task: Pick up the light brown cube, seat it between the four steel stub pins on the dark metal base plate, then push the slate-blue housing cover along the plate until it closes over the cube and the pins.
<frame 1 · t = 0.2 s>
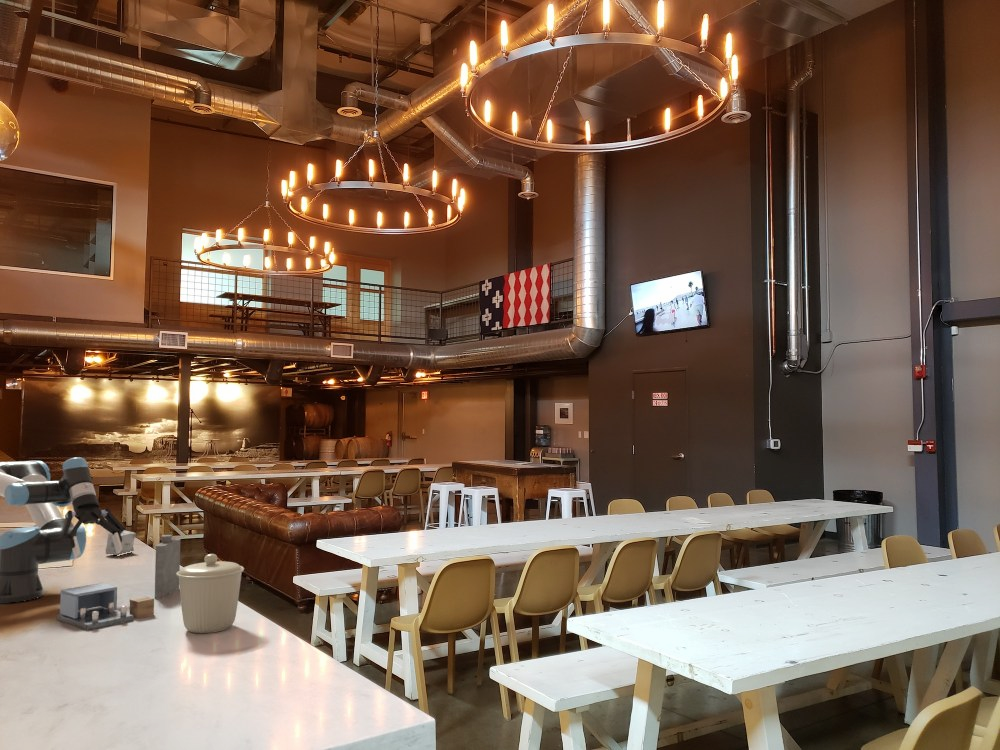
hand: (99, 553, 241), 16 cm above the bar counter, tool tilted 35°, fingers open, 13 cm apart
canister: (209, 629, 208), on the bar counter
housing cover: (88, 599, 221), point 5 cm above the bar counter, slide at 0.0 cm
light brown cube: (141, 615, 223), on the bar counter
hip flask: (165, 593, 253), on the bar counter
housing base: (95, 620, 218), on the bar counter
incense holder: (120, 555, 331), on the bar counter
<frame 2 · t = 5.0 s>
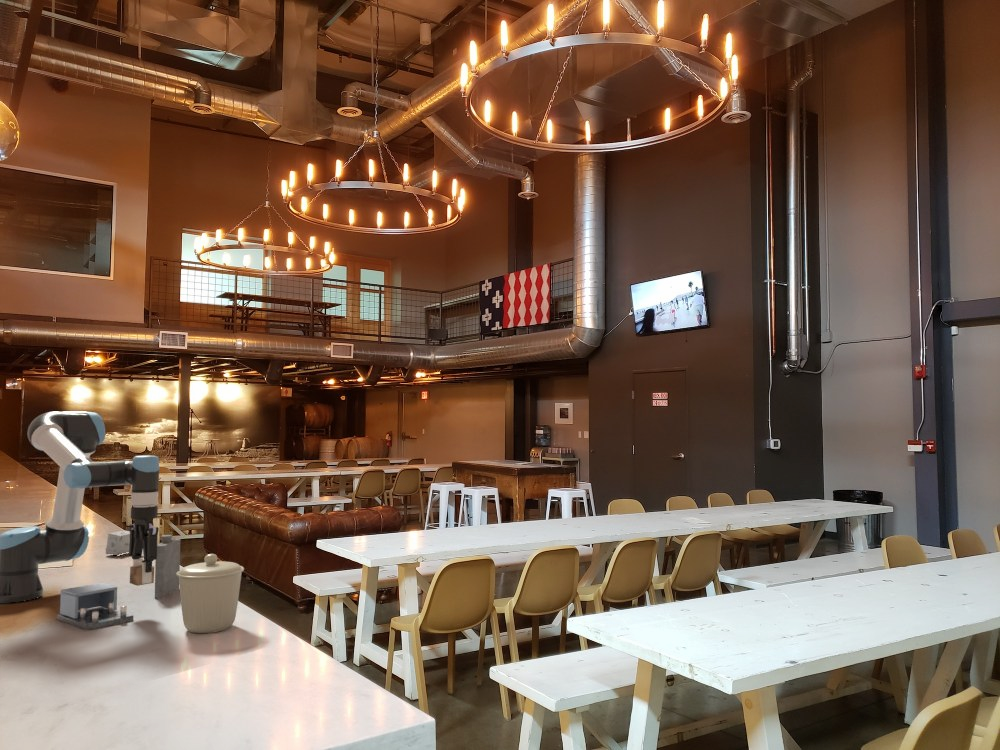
hand: (141, 581, 224), 10 cm above the bar counter, tool pointing down, fingers closed on light brown cube, 5 cm apart
light brown cube: (141, 583, 224), point 10 cm above the bar counter, touching gripper
everything else where it was.
when the fingers open (2 cm above the bar counter, at t = 8.0 s): light brown cube stays where it is, resting on housing base.
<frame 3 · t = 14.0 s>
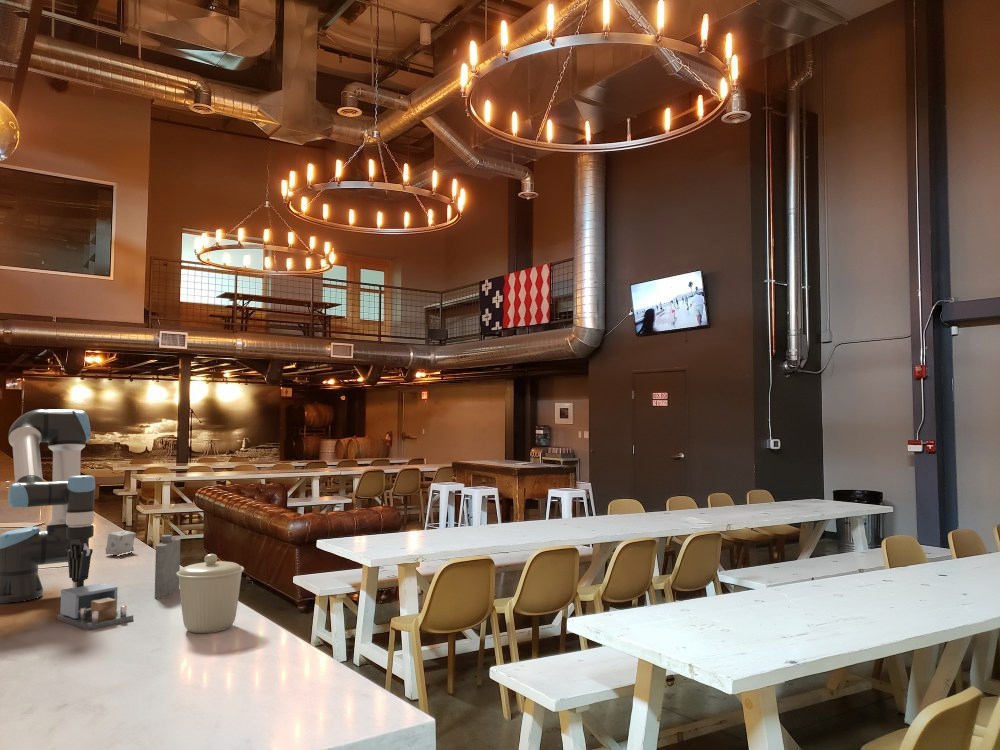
hand: (77, 602, 225), 4 cm above the bar counter, tool pointing down, fingers closed
housing cover: (89, 600, 221), point 5 cm above the bar counter, slide at 0.2 cm, touching gripper
light brown cube: (103, 617, 215), point 1 cm above the bar counter, touching housing base
everything else where it was.
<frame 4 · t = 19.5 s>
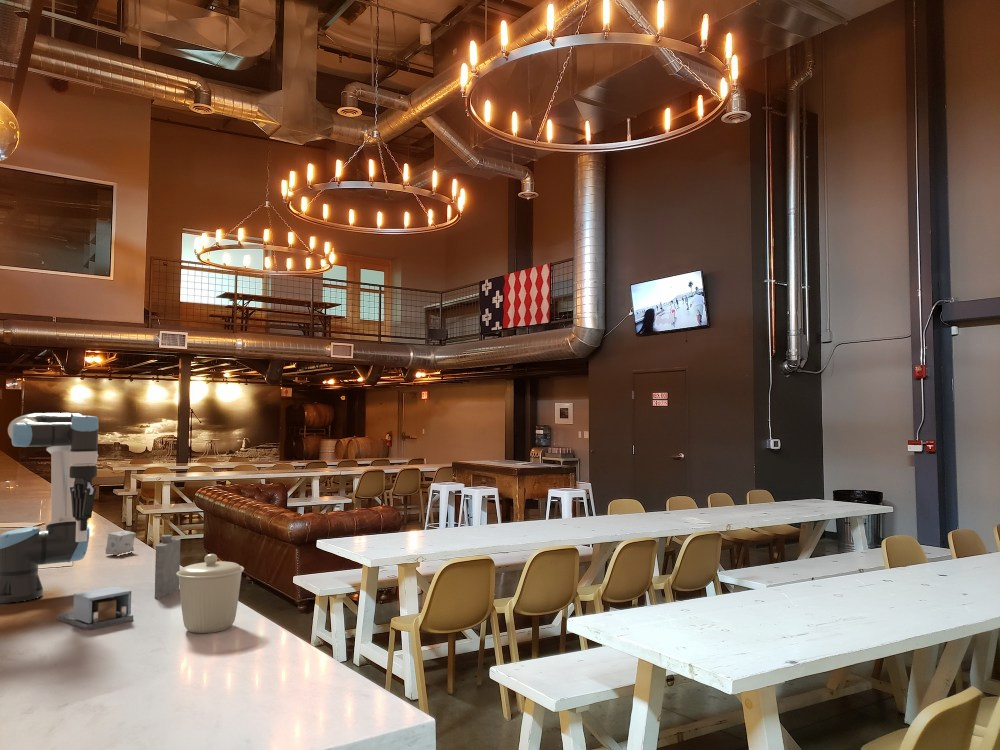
hand: (81, 541, 226), 22 cm above the bar counter, tool pointing down, fingers closed
housing cover: (102, 604, 216), point 5 cm above the bar counter, slide at 8.9 cm
everything else where it was.
at the end: light brown cube 0.1 cm from the target spot on the housing base, point 1.5 cm above the housing base's base; light brown cube tilted 0°; housing cover slide at 8.9 cm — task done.
